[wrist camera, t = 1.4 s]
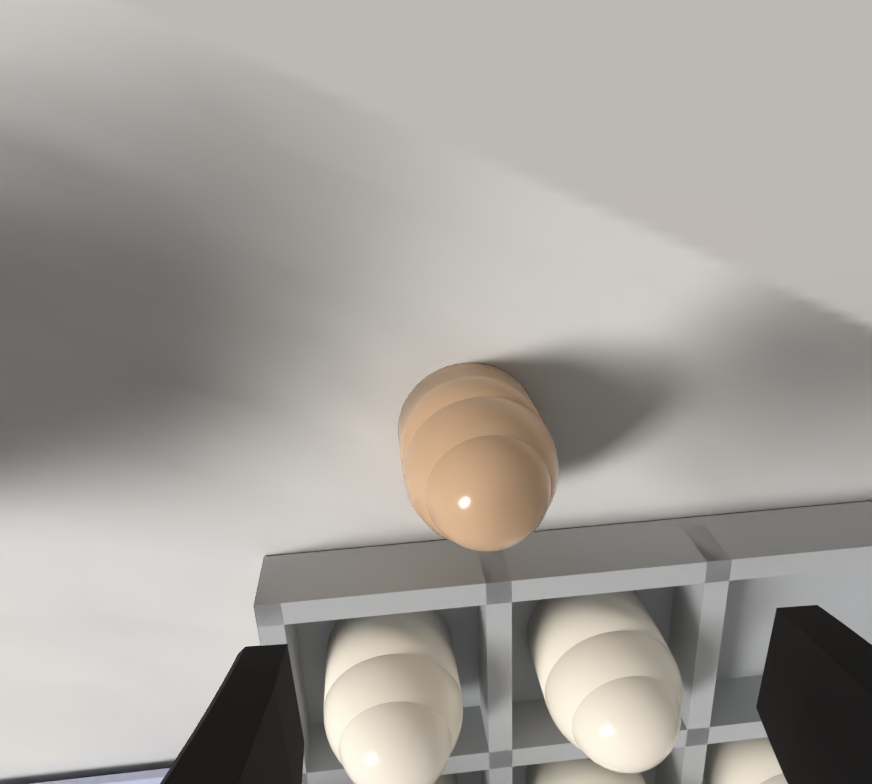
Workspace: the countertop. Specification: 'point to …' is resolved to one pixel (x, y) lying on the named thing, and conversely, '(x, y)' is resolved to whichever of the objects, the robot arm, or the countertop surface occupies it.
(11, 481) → the countertop surface
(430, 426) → the brown egg
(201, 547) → the countertop surface
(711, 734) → the egg carton
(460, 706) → the cream eggs
